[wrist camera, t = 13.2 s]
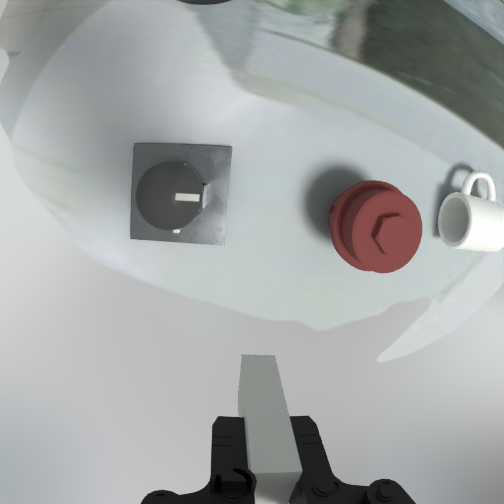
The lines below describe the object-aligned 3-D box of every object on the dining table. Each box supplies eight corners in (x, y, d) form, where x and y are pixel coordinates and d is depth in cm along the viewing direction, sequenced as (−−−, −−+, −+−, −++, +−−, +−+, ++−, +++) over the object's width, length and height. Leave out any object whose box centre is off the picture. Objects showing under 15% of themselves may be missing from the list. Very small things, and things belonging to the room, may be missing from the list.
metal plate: (137, 143, 35) (123, 140, 30) (232, 147, 36) (232, 144, 31) (132, 237, 38) (120, 246, 33) (224, 243, 39) (223, 254, 34)
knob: (148, 220, 36) (133, 228, 30) (152, 163, 35) (137, 160, 29) (204, 224, 37) (199, 232, 31) (209, 166, 35) (205, 163, 29)
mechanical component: (394, 221, 40) (341, 267, 41) (355, 162, 37) (298, 210, 39) (447, 241, 28) (381, 303, 29) (404, 162, 25) (327, 228, 27)
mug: (474, 245, 42) (505, 258, 34) (433, 240, 41) (465, 254, 33) (483, 175, 39) (516, 180, 31) (443, 163, 38) (477, 165, 30)
